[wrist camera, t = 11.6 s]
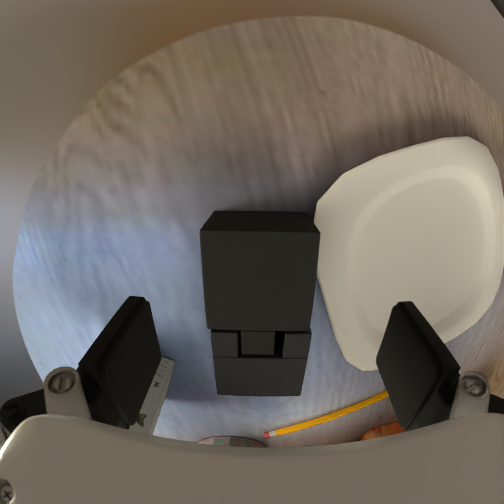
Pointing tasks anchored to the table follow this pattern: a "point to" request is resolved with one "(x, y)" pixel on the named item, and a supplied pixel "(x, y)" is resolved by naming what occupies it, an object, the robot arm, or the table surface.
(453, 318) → the plate
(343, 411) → the pencil
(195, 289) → the table surface
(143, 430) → the white packaging box
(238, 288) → the black rectangular block
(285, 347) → the socket pad
